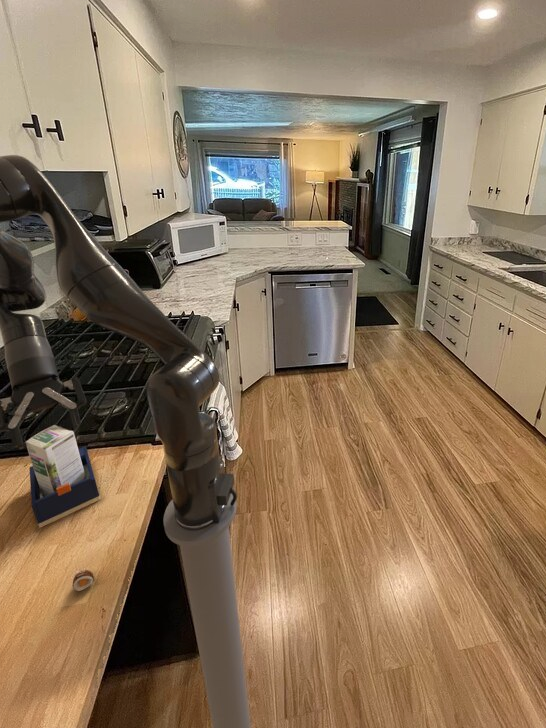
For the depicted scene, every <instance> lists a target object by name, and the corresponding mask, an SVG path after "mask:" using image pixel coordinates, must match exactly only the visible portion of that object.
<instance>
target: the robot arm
mask: <svg viewBox="0 0 546 728" xmlns="http://www.w3.org/2000/svg"><path fill="white" fill-rule="evenodd" d="M32 215H38V216H39V217H40V218H41V219H42V220H43V221H44V222H45V224H46V225H47V227H48V229H49V230H50V232H51V234H52V237H53V241H54V249H55V269H56V278H57V282H58V285H59V289H61V291H62V293H63V294H64V295H65V296H66V298H67V299H69V301H70V302H71V303H72V304H73V305H74V306H75V307H76V308H77V309H78V310H79V312H81V314H82V315H83V316H85V317H86V318H87V319H88V320H89V321H90V322H92V323H93V324H94V325H97V326H98V327H101V328H103V329H104V330H105V329H106V330H108V331H109V332H113V333H114V334H115V333H116V334H118V335H120V336H123V337H126V338H129V339H130V340H133V341H136V342H137V343H140V344H141V345H143V346H145V348H147V349H149V350H150V351H151V352H152V353H153V354H154V355H155V356H156V357H157V358H158V359H159V360H160V361H161V362H162V364H164V365H162V366H161V367H160V368H158V369H157V370H156V371H155V372H153V373H152V374H151V375H150V376H149V378H148V379H147V382H146V387H145V389H146V390H145V391H146V392H145V394H146V395H145V396H146V400H147V404H148V409H149V412H150V416H151V420H152V424H153V428H154V431H155V433H156V436H157V437H158V439H159V440H160V442H161V443H162V446H163V447H162V448H163V452H164V459H165V464H166V470H167V475H168V482H169V487H170V492H171V493H170V494H171V498H172V499H173V504H174V511H175V518H176V522H177V523H178V525H179V526H180V527H182V528H184V529H186V530H200V529H203V528H206V527H208V526H210V525H211V524H214V523H219V522H220V519H221V516H222V513H223V511H224V508H225V506H227V504H228V501H229V498H230V494H232V495H233V499H232V501H231V503H230V504H231V505H232V506H233V505H234V503H235V501H236V502H237V500H238V494H237V492H236V491H235V489H234V485H235V475H234V473H226V469H225V462H224V460H221V459H220V451H219V442H218V441H219V440H218V430H217V425H216V421H215V419H214V418H213V417H212V416H211V415H210V414H209V413H205V412H200V407H201V406H202V405H203V404H204V402H206V400H208V398H210V396H211V395H212V394H213V393H214V392H215V391H216V390H217V388H218V386H219V385H220V384H219V383H220V372H219V370H218V367H217V365H216V363H214V361H213V359H212V358H211V357H210V356H209V355H208V354H207V353H206V352H205V351H204V350H203V349H202V348H201V347H199V345H197V344H196V343H195V341H193V340H192V338H189V337H188V335H186V334H185V333H184V332H183V331H182V330H181V329H180V328H179V327H178V326H176V325H175V324H174V322H172V321H171V319H169V317H168V316H166V315H165V314H164V312H163V311H162V310H161V309H160V308H159V307H158V306H157V305H156V304H155V303H154V302H153V301H152V300H151V299H150V298H149V297H148V296H147V294H146V293H145V292H144V291H143V290H142V289H141V288H140V287H139V285H138V284H137V283H136V282H135V280H134V279H133V278H132V277H131V276H130V275H129V274H128V273H127V271H126V270H125V269H124V268H123V267H122V266H121V264H119V262H117V261H116V260H115V259H114V258H113V257H112V255H110V253H108V252H107V250H106V249H105V248H104V247H103V245H101V244H100V242H98V240H96V238H95V237H94V236H93V235H92V233H91V232H90V231H89V230H88V229H87V227H85V226H84V225H83V223H82V222H81V221H80V219H79V218H78V217H77V215H75V213H74V212H73V211H72V209H71V208H70V207H69V205H68V204H67V203H66V201H65V200H64V199H63V197H62V196H61V195H60V193H59V192H58V191H57V189H56V188H55V187H54V186H53V184H52V183H51V182H50V180H49V179H48V178H47V177H46V176H45V174H44V173H43V171H41V170H40V168H39V167H38V166H36V165H35V164H34V163H33V161H30V160H29V159H28V158H26V157H24V156H23V155H18V154H9V155H8V154H7V155H1V156H0V224H2V223H6V222H7V223H8V222H10V221H14V220H18V219H21V218H24V217H28V216H32ZM34 264H35V263H34V257H33V253H32V252H31V250H30V248H29V247H28V245H26V244H25V242H23V241H21V239H19V238H17V237H15V236H13V235H12V234H10V233H8V232H6V231H4V230H3V229H1V228H0V334H1V335H0V336H1V339H2V343H3V347H4V360H5V364H6V367H7V373H8V377H9V382H10V385H11V390H12V393H11V396H9V397H5V398H1V399H0V433H2V432H9V435H10V440H11V444H12V445H13V446H14V448H18V449H19V450H22V449H24V448H25V446H26V445H25V441H24V437H23V434H22V429H21V428H20V427H21V425H22V424H23V422H24V421H25V420H26V418H27V417H28V415H29V414H30V413H34V414H35V413H38V412H40V411H42V410H48V409H52V408H53V407H54V406H55V405H57V406H59V407H61V408H64V409H66V410H68V413H69V417H70V421H71V424H72V428H73V431H77V430H79V426H81V424H82V421H81V418H80V414H79V409H80V408H82V407H84V406H86V405H87V404H88V403H87V398H86V395H85V393H84V390H83V387H82V384H81V381H80V378H79V377H78V376H73V377H72V378H71V379H69V380H66V381H61V379H60V376H59V371H58V369H57V365H56V361H55V355H54V354H53V350H52V346H51V344H50V343H49V340H48V337H47V333H46V330H45V325H44V322H43V320H42V318H41V317H40V316H38V315H36V314H32V313H31V314H30V313H18V312H22V311H23V312H24V311H29V310H35V309H39V308H41V307H42V306H43V305H44V303H45V302H46V300H47V298H46V297H47V295H46V290H45V287H44V286H43V285H42V283H41V281H40V280H39V279H38V277H37V276H36V274H35V265H34ZM16 312H17V313H16ZM65 388H68V389H69V390H70V391H74V392H75V395H76V398H77V400H76V401H72V400H70V399H68V398H67V397H65V396H64V395H62V394H63V392H64V390H65ZM10 404H13V405H15V406H17V409H16V410H15V412H14V413H13V414H14V415H13V416H12V418H11V420H10V421H9V422H6V416H5V411H6V410H8V409H9V405H10ZM172 499H171V500H172Z"/></svg>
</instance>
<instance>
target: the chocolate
mask: <svg viewBox="0 0 546 728" xmlns="http://www.w3.org/2000/svg"><path fill="white" fill-rule="evenodd" d="M71 574H72V575H74V577H73V580H72V585H71V586H72V588H73V589H74V590H75V591H76V592H80V591H84V590H85V589H87V588H89V587H90V586H91V585H92V584H93V583H94V582H95V575H94V573H93V572H92V571H91V570H88V569H87V568H83V569H79V570H77V571H76V572H75V571H73V572H72V573H71Z"/></svg>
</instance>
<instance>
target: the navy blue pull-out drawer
mask: <svg viewBox="0 0 546 728" xmlns="http://www.w3.org/2000/svg"><path fill="white" fill-rule="evenodd" d="M78 450H79V454H80V458H81V462H82V466H83V469H84V473H85V477H86V479H84V480H82V481H80V482H77V483H75V484H73V485H69V483H67V484H64V485H62V486H60V487H57V488H56V490H57V491H56V492H54V493H52V494H49V495H47V496H45V497H43V496H42V493H41V490H40V487H39V484H38V481H37V478H36V475H35V471H34V468H33V465H31V466H29V467H28V468H29V469H28V470H29V482H30V498H31V499H30V500H31V501H30V502H31V508H32V511H33V513H34V516H35V520H36V522H37V525H38V528H39V529H40V528H43V527H44V526H46V525H49V524H51V523H54V522H56V521H57V520H60V519H62V518H64V517H66V516H68V515H70V514H72V513H75V512H77V511H79V510H82V509H83V508H85V507H88V506H90V505H92V504H94V503H96V502H98V501H100V500H101V496H100V492H99V489H98V485H97V482H96V478H95V474H94V470H93V468H92V463H91V459H90V457H89V451H88V449H87V446H86V445H84V446H81V447H78Z"/></svg>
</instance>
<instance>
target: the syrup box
mask: <svg viewBox="0 0 546 728" xmlns="http://www.w3.org/2000/svg"><path fill="white" fill-rule="evenodd" d="M24 444H25V446H26V449H27V452H28V456H29V459H30V461H31V464H32V465H31V466H33V468H34V471H35V475H36V478H37V481H38V484H39V487H40V490H41V493H42V496H43V497H45V496H47V495H49V494H52V493H54V492H56V491H57V490H56V488H57V487H60V486H62V485H64V484H67V483H69V485H73V484H75V483H77V482H80V481H82V480H84V479H86V477H85V473H84V469H83V466H82V462H81V458H80V454H79V450H78V449H79V447H78V443H77V439H76V435H75V432H74V430H70V429H67V428H65V427H62V426H60V425H56V424H53V425H51V426H49V427H47V428H45V429H43V430H41V431H39V432H38V433H37V434H35V435H33V436H32V437H30V438H28V439H27V440H26V441H24Z"/></svg>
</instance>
